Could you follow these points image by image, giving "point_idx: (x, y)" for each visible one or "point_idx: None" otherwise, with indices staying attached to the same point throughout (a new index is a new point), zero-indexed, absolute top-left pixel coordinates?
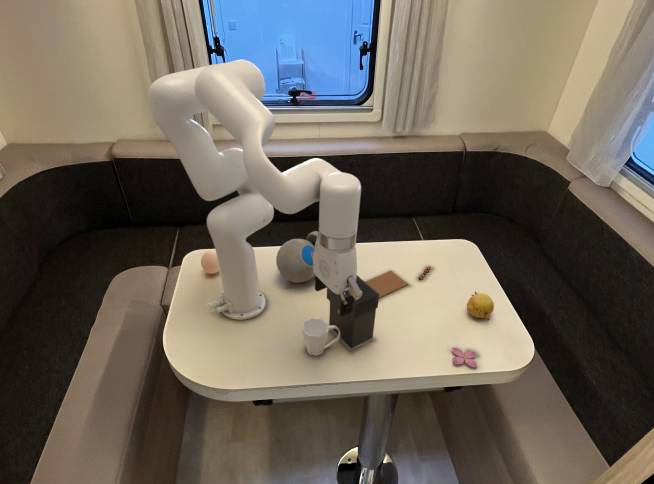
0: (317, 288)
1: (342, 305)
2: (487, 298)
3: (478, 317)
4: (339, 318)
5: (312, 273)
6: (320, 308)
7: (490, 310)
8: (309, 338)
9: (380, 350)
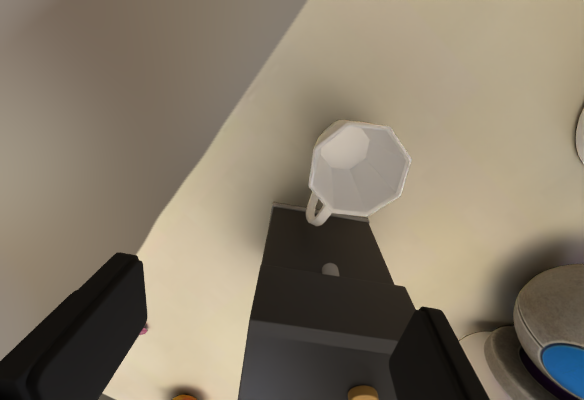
0: (426, 332)
1: (26, 347)
2: None
3: (177, 396)
4: (333, 251)
5: (524, 320)
6: (428, 248)
7: None
8: (342, 124)
9: (230, 245)
